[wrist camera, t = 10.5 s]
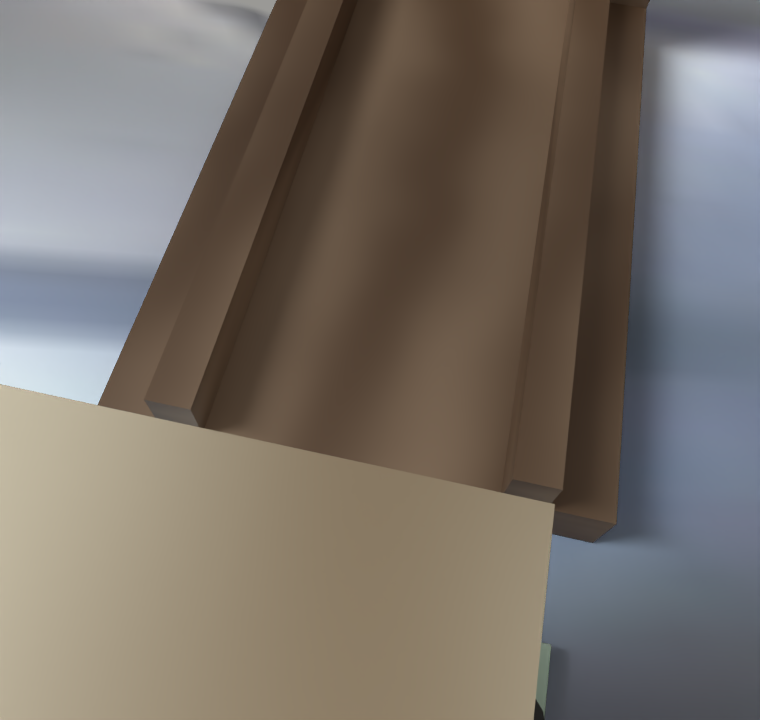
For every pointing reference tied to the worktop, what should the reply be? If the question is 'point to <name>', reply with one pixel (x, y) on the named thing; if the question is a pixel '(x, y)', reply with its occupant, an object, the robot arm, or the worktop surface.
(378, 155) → the walnut lane
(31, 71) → the worktop surface
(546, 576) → the birch block
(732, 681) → the worktop surface
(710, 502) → the worktop surface
